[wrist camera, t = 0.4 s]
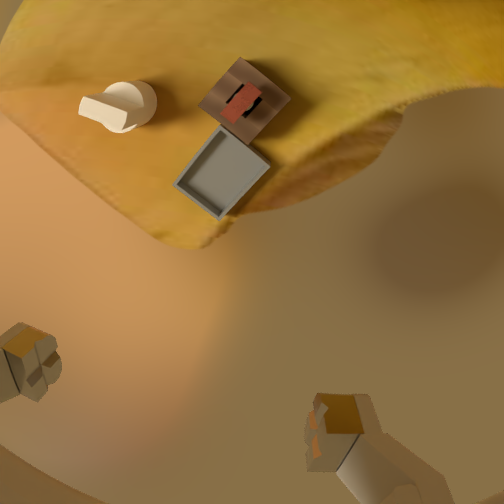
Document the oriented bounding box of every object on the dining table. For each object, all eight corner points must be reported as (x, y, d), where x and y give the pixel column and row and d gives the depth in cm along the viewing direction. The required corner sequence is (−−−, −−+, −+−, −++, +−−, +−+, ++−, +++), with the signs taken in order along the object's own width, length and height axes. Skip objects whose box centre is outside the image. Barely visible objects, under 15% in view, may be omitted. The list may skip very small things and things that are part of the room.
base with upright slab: (164, 89, 45) (135, 93, 35) (147, 133, 50) (116, 149, 40) (123, 74, 44) (88, 77, 34) (108, 117, 48) (72, 130, 38)
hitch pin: (252, 80, 44) (246, 80, 35) (266, 91, 45) (263, 93, 36) (229, 106, 47) (218, 112, 38) (242, 116, 48) (234, 125, 39)
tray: (222, 122, 48) (219, 125, 46) (270, 162, 52) (270, 166, 49) (177, 179, 55) (172, 184, 52) (221, 214, 58) (219, 221, 55)
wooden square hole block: (244, 59, 42) (240, 56, 37) (289, 96, 45) (291, 98, 40) (206, 102, 46) (197, 105, 41) (250, 137, 49) (247, 145, 44)
